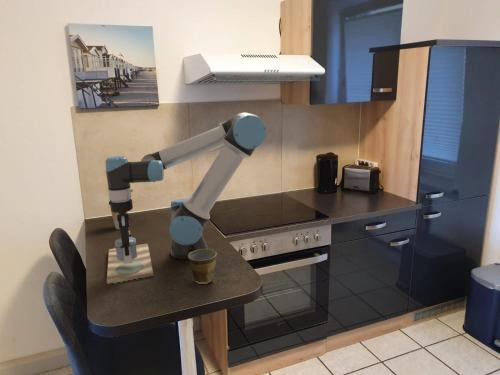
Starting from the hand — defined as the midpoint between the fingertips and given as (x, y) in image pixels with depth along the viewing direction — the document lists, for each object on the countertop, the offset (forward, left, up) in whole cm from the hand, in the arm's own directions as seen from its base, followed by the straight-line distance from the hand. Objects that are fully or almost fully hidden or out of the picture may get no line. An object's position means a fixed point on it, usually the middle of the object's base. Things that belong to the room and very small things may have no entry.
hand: (128, 258), depth 143 cm
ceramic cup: (-28, -6, -6) cm, 30 cm away
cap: (0, 0, +1) cm, 1 cm away
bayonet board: (+6, -6, -6) cm, 10 cm away
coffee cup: (+41, -37, -6) cm, 55 cm away
